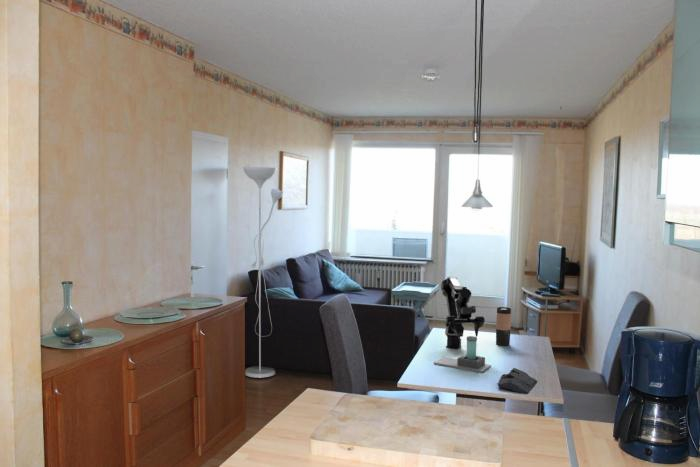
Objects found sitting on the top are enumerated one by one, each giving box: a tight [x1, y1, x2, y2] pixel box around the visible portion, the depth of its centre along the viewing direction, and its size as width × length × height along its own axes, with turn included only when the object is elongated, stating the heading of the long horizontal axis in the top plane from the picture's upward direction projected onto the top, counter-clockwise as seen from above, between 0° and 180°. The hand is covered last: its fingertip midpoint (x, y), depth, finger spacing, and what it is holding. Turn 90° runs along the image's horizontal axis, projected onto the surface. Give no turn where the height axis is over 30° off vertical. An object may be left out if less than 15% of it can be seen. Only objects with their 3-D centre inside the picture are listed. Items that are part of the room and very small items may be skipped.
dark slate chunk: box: [497, 367, 538, 394], centre depth 249 cm, size 15×22×5 cm
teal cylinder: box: [466, 335, 478, 360], centre depth 275 cm, size 5×5×13 cm
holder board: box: [433, 353, 492, 374], centre depth 276 cm, size 24×12×4 cm, turn 59°
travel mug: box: [495, 306, 512, 347], centre depth 318 cm, size 8×8×20 cm
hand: (467, 336), depth 282 cm, fingers open, 9 cm apart
